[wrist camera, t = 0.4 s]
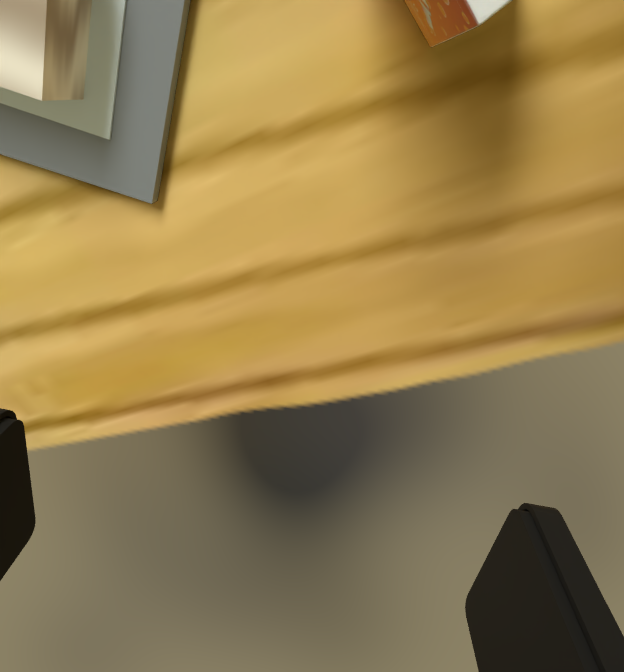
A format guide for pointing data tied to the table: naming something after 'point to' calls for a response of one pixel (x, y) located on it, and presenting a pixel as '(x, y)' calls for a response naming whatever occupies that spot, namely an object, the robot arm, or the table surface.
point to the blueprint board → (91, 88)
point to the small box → (451, 16)
